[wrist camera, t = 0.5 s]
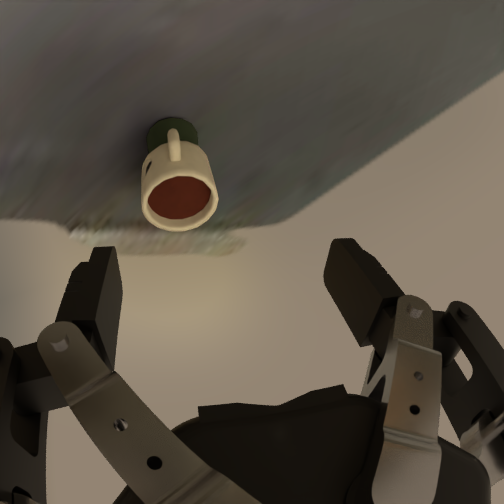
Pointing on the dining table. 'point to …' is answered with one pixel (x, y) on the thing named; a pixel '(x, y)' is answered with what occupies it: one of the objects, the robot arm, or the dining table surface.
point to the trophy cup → (176, 178)
